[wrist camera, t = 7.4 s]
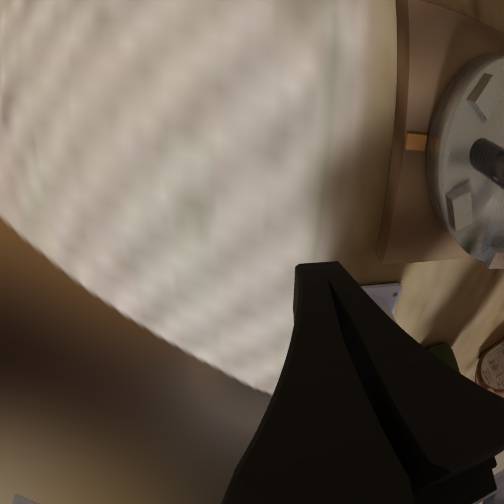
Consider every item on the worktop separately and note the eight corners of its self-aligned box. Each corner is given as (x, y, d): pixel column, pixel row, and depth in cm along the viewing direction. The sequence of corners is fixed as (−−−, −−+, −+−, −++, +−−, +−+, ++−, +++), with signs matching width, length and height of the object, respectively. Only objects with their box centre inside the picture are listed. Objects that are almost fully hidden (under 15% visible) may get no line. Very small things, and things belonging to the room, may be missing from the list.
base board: (521, 242, 22) (531, 252, 20) (375, 252, 22) (383, 266, 20) (557, 70, 12) (569, 74, 10) (395, -1, 12) (408, -5, 10)
